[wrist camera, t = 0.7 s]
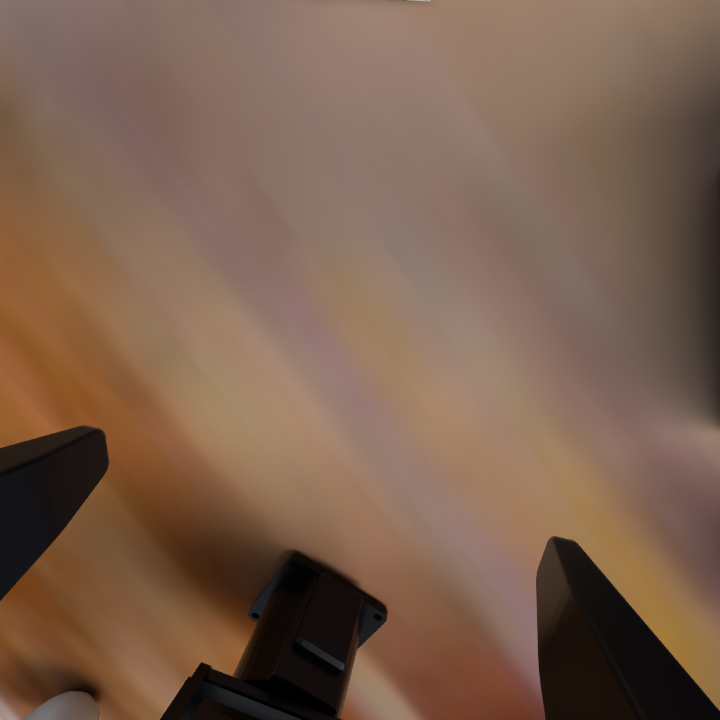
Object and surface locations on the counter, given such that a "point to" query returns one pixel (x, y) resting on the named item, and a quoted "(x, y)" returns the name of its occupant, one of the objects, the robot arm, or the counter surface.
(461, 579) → the counter surface
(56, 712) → the donut
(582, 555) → the robot arm
